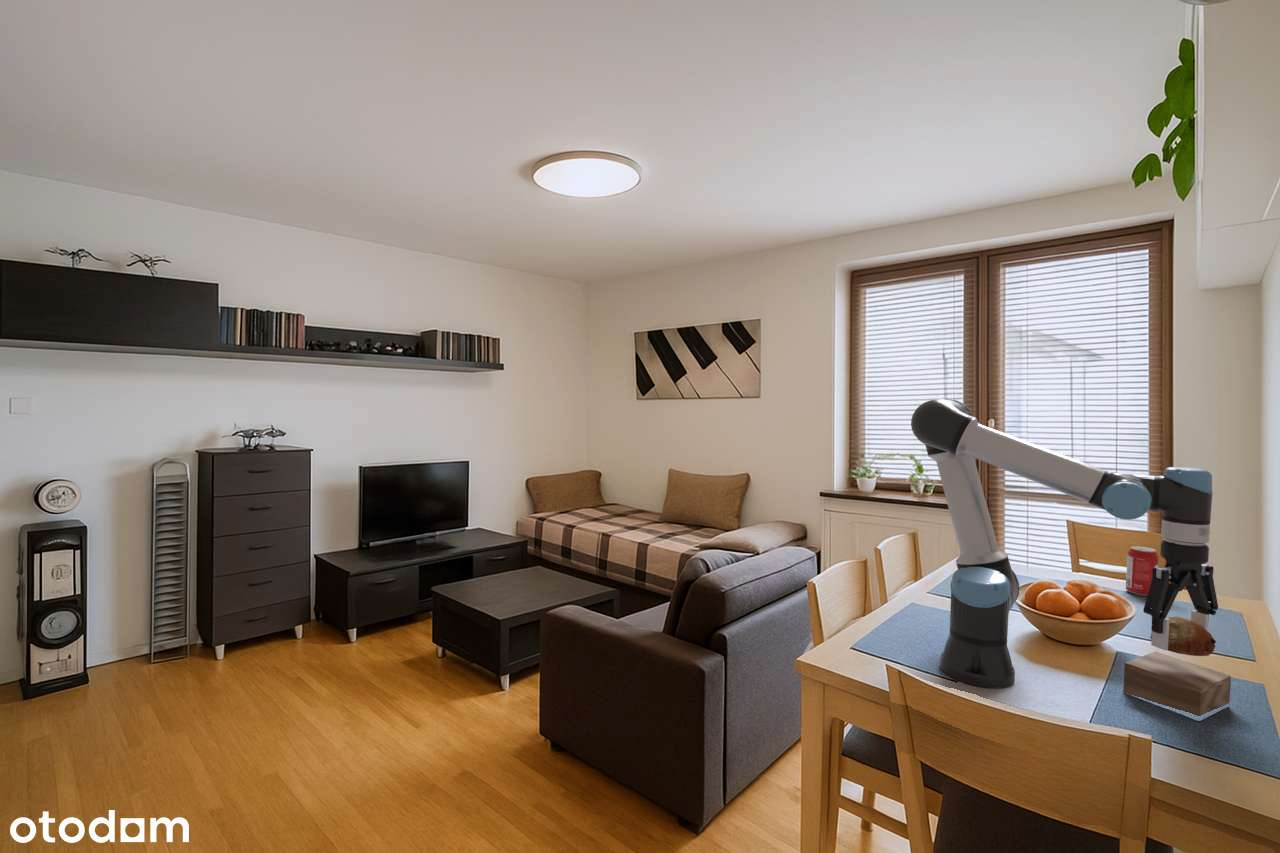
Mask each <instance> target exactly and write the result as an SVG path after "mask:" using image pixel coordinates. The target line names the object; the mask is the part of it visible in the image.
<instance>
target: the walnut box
mask: <svg viewBox="0 0 1280 853" xmlns="http://www.w3.org/2000/svg"><path fill="white" fill-rule="evenodd" d="M1231 681H1232V676H1231V675H1230V674H1227V673H1224V672H1222V671H1221V672H1220V671H1217V670H1215V669H1211V668H1208V667H1206V666H1203V665H1199V664H1196V663H1192V662H1189V661H1186V660H1183V659H1180V658H1176V657H1174V656H1171V655H1167V654H1164V653H1161V652H1159V651H1158V652H1157V651H1153V652H1151V653H1148V654H1144V655H1142V656H1140V657H1136V658H1133V659H1131V660H1128V661H1126V662H1124V672H1123V687H1122V688H1123V689H1122V693H1123V692H1125V693H1128V694H1130V695H1134V696H1137V697H1141V698H1144V699H1146V700H1149V701H1152V702H1156V703H1158V704H1162V705H1165V706H1169V707H1172V708H1175V709H1178V710H1183V711H1185V712H1189V713H1192V714H1194V715H1197V716H1201V715H1203V714H1205V713H1207V712H1210V711H1212V710H1214V709H1217V708H1219V707H1222V706H1224V705H1226V704H1228V703H1229V704H1230V698H1231V683H1232V682H1231ZM1125 693H1124V694H1125ZM1128 694H1127V695H1128ZM1130 695H1129V696H1130Z"/></svg>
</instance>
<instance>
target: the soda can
mask: <svg viewBox="0 0 1280 853" xmlns="http://www.w3.org/2000/svg"><path fill="white" fill-rule="evenodd" d="M1159 560H1160V556H1159V553H1157V550H1156V549H1155V548H1151V547H1147V546H1134V545H1133V546H1130V549H1129V550H1127V557H1126V575H1125V590H1126V591H1127V592H1129V594H1133V595H1136V596H1138V597H1139V596H1140V597H1147V595H1148V592H1149V588H1150V585H1151V581H1152V572H1153V568H1154V567H1157V568H1159Z"/></svg>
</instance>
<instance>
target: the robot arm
mask: <svg viewBox="0 0 1280 853" xmlns="http://www.w3.org/2000/svg"><path fill="white" fill-rule="evenodd" d="M912 413H913V414H912V416H911V420H910V427H911V431H912V433H913V435H914V437H915V438H916V439H917V440H918V441H919V442H920V443H922V444H924V445H925V449H926V452H927V456H928V457H929V458H930V459H932V460H933V461H935V462H936V465H937V469H938V472H939V477H940V480H941V484H942V488H943V493H944V496H945V499H946V500H945V501H946V503H947V508H948V511H949V514H950V519H951V523H952V526H953V529H954V530H953V531H954V534H955V539H956V541H957V545H958V549H959V556H958V557H957V558H956V559H955V564H956V567H957V570H955V571H954V572H953V574H952V577H951V581H950V590H951V591H950V612H949V613H950V614H949V635H948V638H947V640H946V643H945V646H944V649H943V651H942V652H941V654H940V657H939V659H940V660H939V667H940V670H942V672H943V673H944V674H946V675H947V676H949V677H951V679H955V680H957V681H959V682H962V683H965V684H968V685H971V686H976V687H980V688H981V687H982V688H986V689H987V688H988V689H1001V688H1007V687H1011V686H1012V685H1014V683H1015V680H1016V679H1015V677H1016V676H1015V675H1016V670H1015V667H1014V665H1013V662H1012V658H1011V655H1010V651H1009V648H1008V634H1009V631H1008V629H1009V615H1010V611H1011V610H1012V607H1013V606H1014V604H1015V603H1016V602H1017V600H1018V598H1019V594H1020V582H1019V579H1018V577H1017V575H1016V573H1015V571H1014V570H1013V569H1012V567H1011V563H1010V560H1009V555H1008V554H1007V553H1005V552H1004V551H1002V550H1001V549H1000V548H999V545H998V542H997V537H996V535H995V530H994V527H993V523H992V519H991V516H990V512H989V509H988V504H987V500H986V498H985V493H984V491H983V486H982V482H981V478H980V475H979V471H978V468H977V464H976V460H975V459H977V460H979V461H981V462H984V463H986V464H989V465H991V466H994V467H997V468H999V469H1002V470H1004V471H1007V472H1009V473H1012V474H1015V475H1018V476H1020V477H1022V478H1024V479H1026V480H1030V481H1031V482H1034V483H1037V484H1040V485H1042V486H1045V487H1048V488H1049V489H1052V490H1054V491H1058V492H1060V493H1062V494H1065V495H1067V496H1070V497H1073V498H1075V499H1078V500H1080V501H1083V502H1084V503H1085V502H1086V503H1087V504H1090V505H1092V506H1094V507H1097V508H1099V509H1102V510H1104V511H1106V512H1107V513H1108V514H1109V515H1111V516H1113V517H1115V518H1118V519H1120V520H1127V521H1128V520H1130V521H1131V520H1136V519H1139V518H1142V517H1143V516H1144V515H1145V514H1146V513H1147V512H1148V511H1155V512H1162V516H1161V529H1160V530H1161V532H1160V537H1162V540H1160V552H1159V554H1160V556H1161V558H1163V559H1164V560H1165V564H1164V567H1162V568H1161V567H1158V568H1157V567H1154V568H1153V572H1152V581H1151V585H1150V588H1149V592H1148V595H1147V596H1146V599H1145V603H1144V605H1143V611H1142V612H1143V613H1145V614H1147V615H1150V616H1151V633H1152V640H1151V642H1150V643H1151V646H1153V647H1154V648H1158V649H1161V650H1163V651H1168V638H1169V620H1170V619H1167V616H1168V614H1169V612H1170V610H1171V608H1172V606H1173V604H1174V602H1175V600H1176V598H1177V596H1178V594H1179V592H1183V590H1184V588H1186V590H1187V593H1188V595H1189V598H1190V601H1191V603H1192V605H1193V607H1194V609H1195V610H1191V615H1190V621H1193V622H1195V623H1196V624H1198V625H1200V626H1202V627H1203V628H1205V629H1206V630H1207V631H1208V632H1209V630H1208V629H1209V616H1210V615H1212V616H1215V615H1216V614H1217V610H1219V604H1218V599H1217V594H1216V593H1217V592H1216V586H1215V582H1214V566H1212V565H1210V564H1209V565H1208V564H1207V563H1208V562H1209V554H1210V547H1209V546H1208V545H1207V544H1208V543H1209V542H1210V534H1211V531H1210V529H1211V528H1210V527H1211V525H1210V524H1211V519H1212V518H1211V517H1212V501H1213V475H1212V473H1211V472H1210V471H1208V470H1206V469H1203V468H1195V467H1183V466H1181V467H1179V466H1178V467H1176V466H1170V467H1169V466H1168V467H1166V468H1165V469H1164V472H1163V475H1147V474H1136V473H1135V474H1133V473H1121V472H1115V471H1113V472H1110V471H1107V470H1106V469H1105V470H1104V469H1102V468H1099V467H1096V466H1094V465H1090V464H1089V463H1086V462H1083V461H1081V460H1078V459H1076V458H1072V457H1069V456H1068V455H1067V456H1066V455H1064V454H1061V453H1058V452H1056V451H1053V450H1051V449H1048V448H1045V447H1042V446H1039V445H1037V444H1034V443H1032V442H1029V441H1026V440H1023V439H1021V438H1018V437H1015V436H1013V435H1009V434H1008V433H1005V432H1002V431H999V430H997V429H993V428H991V427H988V426H985V425H982V424H981V423H980V422H979V421H978V418H977V417H974V415H973V413H972V411H971V410H970V409H969V407H967V406H966V405H965V404H964V403H962V402H961V401H958V400H956V399H952V398H945V399H930V400H928V401H925V402H923V403H921V404H920V405H918V406H917V408H916V409H915V410H914V411H913V412H912Z"/></svg>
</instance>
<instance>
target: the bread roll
mask: <svg viewBox="0 0 1280 853" xmlns="http://www.w3.org/2000/svg"><path fill="white" fill-rule="evenodd" d="M1166 618H1167V619H1170V620H1169V638H1168V650H1167V652H1172V653H1174V654H1180V655H1187V656H1193V657H1208V656H1210V655H1211V654H1213V652H1215V648H1216V645H1215V644H1216V643H1217V642H1216V640H1215V638H1214V637H1213V636H1212V634H1211V632H1209V630H1208V631H1207V630H1206V629H1205V628H1203V627H1202V626H1200V625H1198V624H1196V623H1195V622H1193V621H1191V619H1187V618H1184V617H1180V616H1175V615H1173V616H1168V617H1166ZM1150 633H1151V634H1150V637H1149V639H1151V641H1152V632H1150Z"/></svg>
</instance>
